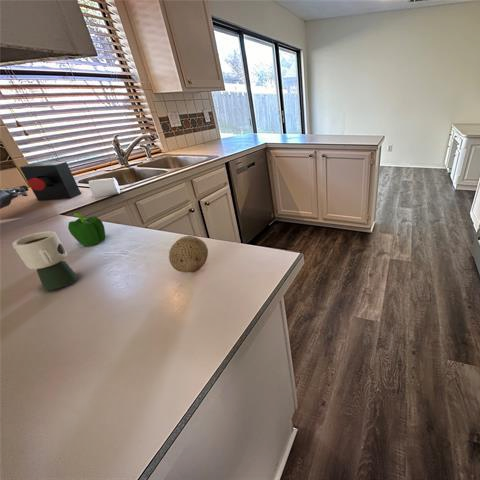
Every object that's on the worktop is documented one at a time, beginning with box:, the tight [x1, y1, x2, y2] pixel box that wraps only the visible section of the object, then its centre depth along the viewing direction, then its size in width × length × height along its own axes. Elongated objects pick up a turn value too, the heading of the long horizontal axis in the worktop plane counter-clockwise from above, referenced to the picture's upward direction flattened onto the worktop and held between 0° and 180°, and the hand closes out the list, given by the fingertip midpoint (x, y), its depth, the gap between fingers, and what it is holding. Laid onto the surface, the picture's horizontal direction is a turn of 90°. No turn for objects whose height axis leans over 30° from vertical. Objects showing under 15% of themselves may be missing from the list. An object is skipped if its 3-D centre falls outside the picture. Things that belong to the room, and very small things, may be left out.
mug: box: [88, 177, 121, 198], centre depth 130 cm, size 12×10×8 cm
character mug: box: [12, 230, 78, 291], centre depth 62 cm, size 11×7×13 cm, turn 51°
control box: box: [19, 161, 82, 202], centre depth 126 cm, size 8×14×16 cm, turn 101°
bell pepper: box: [67, 212, 106, 247], centre depth 82 cm, size 8×8×10 cm
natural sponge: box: [168, 235, 209, 274], centre depth 66 cm, size 9×9×10 cm
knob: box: [27, 177, 51, 191], centre depth 120 cm, size 6×6×6 cm
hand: (25, 187), depth 112 cm, fingers closed
